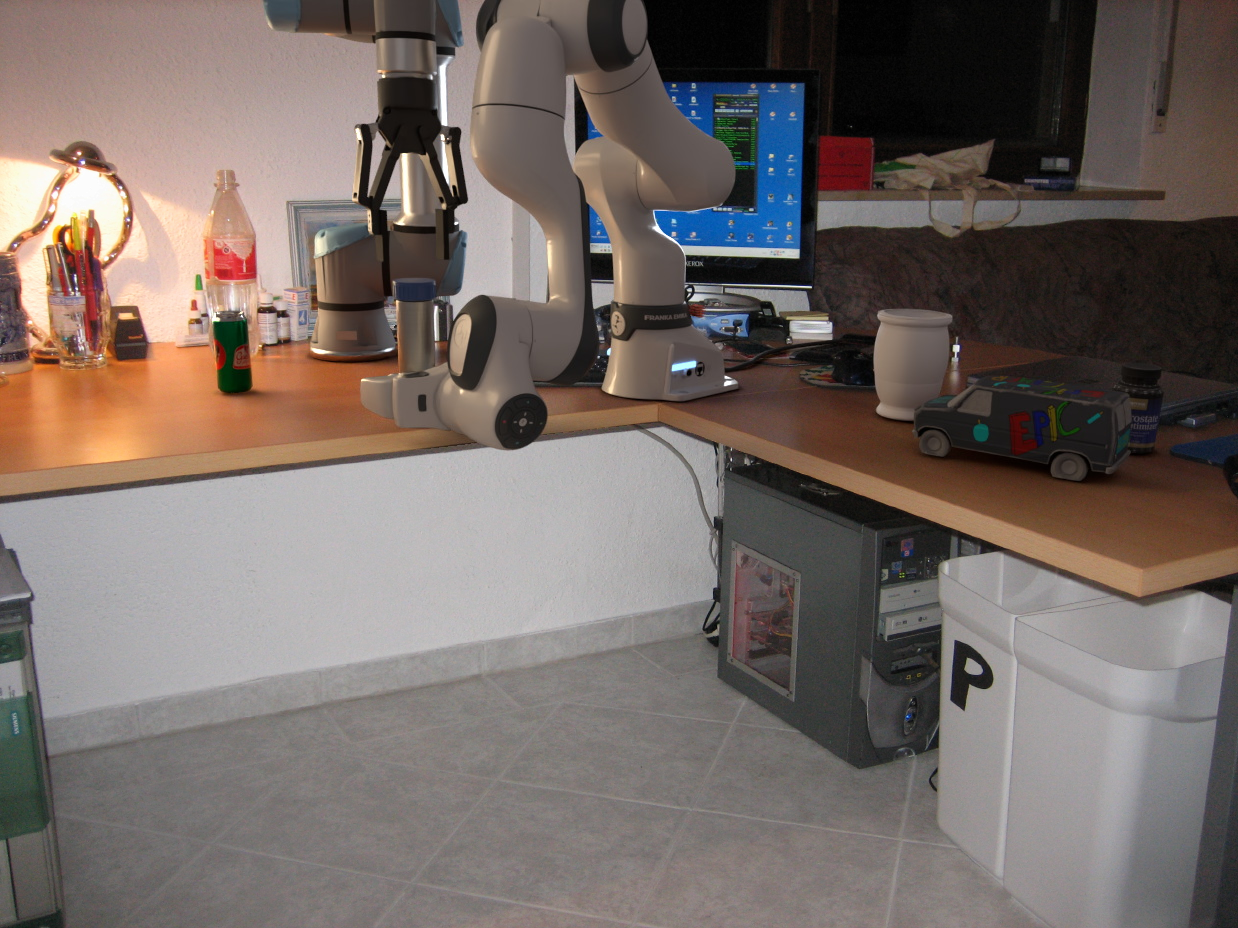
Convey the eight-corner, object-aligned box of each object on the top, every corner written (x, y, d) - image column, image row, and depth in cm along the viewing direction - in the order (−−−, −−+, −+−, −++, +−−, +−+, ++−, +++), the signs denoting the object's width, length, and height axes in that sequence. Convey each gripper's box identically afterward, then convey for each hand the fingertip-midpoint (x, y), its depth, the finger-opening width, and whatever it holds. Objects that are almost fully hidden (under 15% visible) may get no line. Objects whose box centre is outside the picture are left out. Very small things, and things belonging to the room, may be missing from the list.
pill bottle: (1117, 454, 138) (1130, 370, 135) (1094, 442, 144) (1106, 361, 140) (1163, 454, 138) (1177, 370, 135) (1139, 442, 144) (1152, 361, 141)
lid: (412, 302, 140) (411, 283, 139) (383, 297, 143) (383, 280, 142) (445, 298, 144) (444, 280, 143) (417, 294, 147) (416, 276, 147)
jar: (854, 409, 159) (862, 309, 155) (910, 404, 163) (920, 306, 159) (898, 426, 150) (909, 320, 146) (957, 420, 154) (969, 317, 150)
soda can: (241, 395, 161) (235, 315, 157) (211, 393, 162) (204, 314, 158) (259, 388, 165) (253, 311, 162) (229, 386, 166) (223, 309, 163)
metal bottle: (416, 427, 145) (411, 286, 140) (393, 421, 148) (387, 283, 143) (444, 421, 149) (440, 283, 143) (421, 415, 152) (416, 280, 146)
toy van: (934, 435, 146) (942, 362, 143) (1130, 468, 132) (1143, 388, 129) (905, 451, 137) (912, 375, 134) (1110, 488, 123) (1124, 404, 121)
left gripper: (470, 83, 144) (473, 255, 150) (317, 75, 134) (328, 259, 140) (493, 80, 138) (495, 260, 144) (335, 71, 127) (345, 265, 134)
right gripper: (530, 364, 141) (481, 347, 152) (385, 380, 130) (343, 361, 141) (530, 410, 143) (481, 391, 154) (387, 430, 132) (345, 407, 142)
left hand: (413, 259), depth 142 cm, fingers open, 8 cm apart
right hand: (414, 377), depth 147 cm, fingers closed on metal bottle, 5 cm apart
